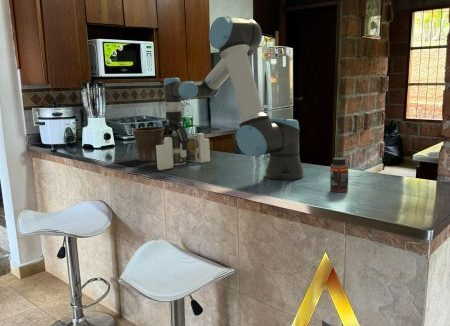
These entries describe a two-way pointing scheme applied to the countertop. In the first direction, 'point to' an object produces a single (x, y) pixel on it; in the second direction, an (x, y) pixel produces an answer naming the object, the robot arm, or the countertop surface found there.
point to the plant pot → (148, 142)
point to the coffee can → (176, 150)
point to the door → (191, 150)
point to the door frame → (166, 152)
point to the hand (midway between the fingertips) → (176, 155)
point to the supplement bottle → (339, 175)
